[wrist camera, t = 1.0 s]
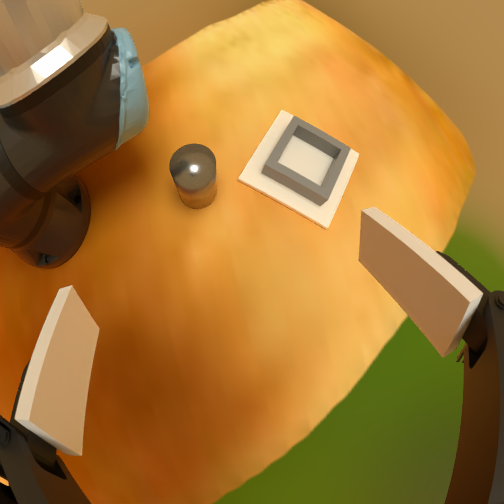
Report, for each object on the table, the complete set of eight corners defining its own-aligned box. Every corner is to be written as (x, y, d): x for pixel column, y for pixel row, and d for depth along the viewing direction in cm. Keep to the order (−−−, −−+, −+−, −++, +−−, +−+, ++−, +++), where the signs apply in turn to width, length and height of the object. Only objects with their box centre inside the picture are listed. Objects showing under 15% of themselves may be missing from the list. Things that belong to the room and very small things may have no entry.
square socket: (237, 180, 38) (239, 169, 34) (280, 112, 40) (286, 98, 36) (325, 229, 38) (336, 223, 35) (357, 156, 41) (368, 145, 37)
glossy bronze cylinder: (173, 198, 37) (160, 173, 28) (192, 168, 37) (185, 137, 29) (204, 215, 37) (200, 193, 28) (223, 184, 38) (224, 155, 29)
